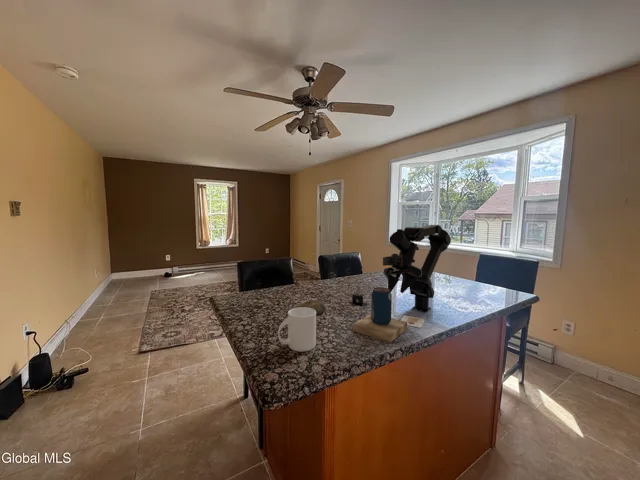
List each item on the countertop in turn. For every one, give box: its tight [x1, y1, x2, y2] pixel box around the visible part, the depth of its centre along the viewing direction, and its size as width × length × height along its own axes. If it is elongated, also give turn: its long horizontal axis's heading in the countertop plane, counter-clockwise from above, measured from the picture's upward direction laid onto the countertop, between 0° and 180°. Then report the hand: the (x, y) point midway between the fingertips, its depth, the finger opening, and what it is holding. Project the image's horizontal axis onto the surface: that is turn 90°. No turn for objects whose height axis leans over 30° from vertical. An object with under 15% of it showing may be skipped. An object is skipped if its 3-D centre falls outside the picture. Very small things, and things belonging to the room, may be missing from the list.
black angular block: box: [348, 293, 368, 307], centre depth 123 cm, size 12×7×5 cm, turn 43°
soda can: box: [370, 286, 393, 326], centre depth 92 cm, size 7×7×12 cm
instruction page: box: [400, 315, 426, 329], centre depth 100 cm, size 10×8×1 cm
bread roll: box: [294, 300, 326, 317], centre depth 112 cm, size 13×12×5 cm
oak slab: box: [352, 313, 408, 343], centre depth 92 cm, size 14×14×3 cm
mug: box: [277, 307, 317, 353], centre depth 79 cm, size 9×12×11 cm
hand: (395, 292), depth 100 cm, fingers open, 9 cm apart
